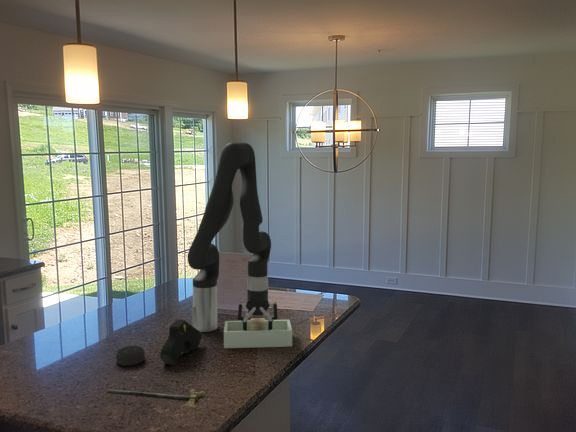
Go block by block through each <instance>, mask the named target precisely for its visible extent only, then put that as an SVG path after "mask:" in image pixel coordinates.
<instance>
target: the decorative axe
mask: <svg viewBox="0 0 576 432" xmlns="http://www.w3.org/2000/svg"><path fill="white" fill-rule="evenodd" d="M189 391H190V392H189V393H188V395H180V394H179V395H178V394H171V393H170V394H167V393H158V392H157V393H155V392H146V391H144V392H143V391H135V390H121V389H110V388H108V389H106V393H110V394H111V393H112V394H120V395H121V394H122V395H123V394H124V395H131V396H133V395H134V396H142V397H143V396H144V397H152V398H165V399H174V400H184V401H185V400H187V402H186V403H184V404H182V405H181V406H183V407H188V408H189V407H190V408H198V406H197V405H195V402H196V401H198V400H199V396H200V395H202V394H203V395H205V391H203V390H201V391H200V392H198V391H195V388H191V389H189ZM200 408H203V406H201V405H200Z"/></svg>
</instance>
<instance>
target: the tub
mask: <svg viewBox="0 0 576 432" xmlns="http://www.w3.org/2000/svg"><path fill="white" fill-rule="evenodd" d="M289 346H290V347H293V328H292V325H291V321H290V319H277V320H273V322H272V330H268V319H265V330H258V331H251V319H250V320H249V319H248V320H247V331H245V330H243V321H241V320H225V321H224V327H223V349H245V348H247V349H249V348H250V349H251V348H282V347H283V348H284V347H289Z"/></svg>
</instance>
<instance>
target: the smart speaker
mask: <svg viewBox="0 0 576 432" xmlns="http://www.w3.org/2000/svg"><path fill="white" fill-rule="evenodd" d="M145 354H146V351H145V348H143V347H141V346H138V345H128V346H124V347H121V348H120V349H118V350H117V351H116V354H115V357H116V358H115V359H116V363H117V364H118V365H120V366H122V367H132V366H137V365H139V364H141V363H143V362H144V361H145V357H146V356H145Z"/></svg>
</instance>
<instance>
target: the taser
mask: <svg viewBox="0 0 576 432" xmlns="http://www.w3.org/2000/svg"><path fill="white" fill-rule="evenodd" d="M202 338H203V332H200V331H199V330H197V329H196V328H194V327H193V324H190V323H189V322H188V321H186V320H185V319H182V318H181V319H175V320H174V322H173V323H172V324H170V326H169V331H168V338H167V339H166V341H165V342H164V344H163V346H162V347H161V350H160V353H159V355H160V356H159V358H160V360H161V361H162V362H163V364H165V365H170V366H175V365H176V364H177V363H178V362H179V360H180V358H181V356H182V355H181V354H182V353H184V354H189V353H190V351H191V352H192V351H193V352H195V351H196V349H197V348H199V347H200V346H201V340H202Z"/></svg>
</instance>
